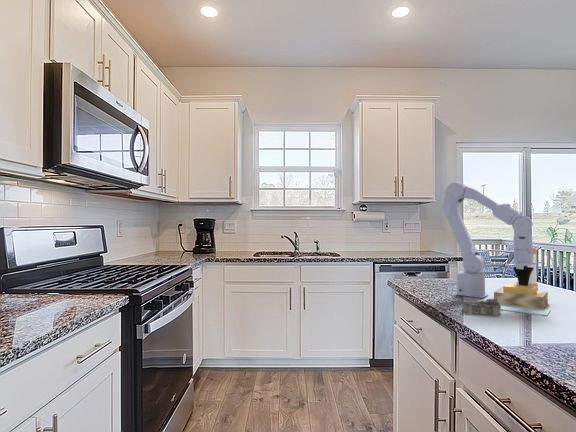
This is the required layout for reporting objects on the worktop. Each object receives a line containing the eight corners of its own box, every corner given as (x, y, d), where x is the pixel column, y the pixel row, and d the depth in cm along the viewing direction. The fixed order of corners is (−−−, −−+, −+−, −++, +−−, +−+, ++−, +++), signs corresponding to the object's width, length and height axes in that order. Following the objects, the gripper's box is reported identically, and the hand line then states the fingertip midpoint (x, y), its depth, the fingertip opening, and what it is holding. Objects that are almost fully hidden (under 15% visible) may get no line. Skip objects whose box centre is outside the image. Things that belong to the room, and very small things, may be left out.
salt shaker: (542, 293, 145) (541, 244, 146) (523, 293, 145) (522, 244, 146) (530, 289, 152) (529, 243, 153) (512, 289, 153) (511, 243, 153)
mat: (481, 307, 122) (481, 306, 122) (487, 302, 129) (487, 302, 129) (547, 316, 110) (547, 315, 110) (550, 310, 117) (550, 309, 117)
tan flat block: (494, 303, 127) (493, 292, 127) (501, 298, 136) (501, 287, 136) (543, 309, 118) (542, 297, 118) (547, 303, 127) (547, 291, 127)
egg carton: (499, 311, 118) (499, 298, 118) (501, 317, 111) (501, 303, 111) (462, 308, 122) (462, 295, 122) (462, 313, 115) (462, 300, 115)
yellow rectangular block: (503, 292, 127) (503, 286, 127) (506, 289, 132) (506, 284, 132) (534, 295, 121) (534, 289, 121) (537, 292, 126) (537, 286, 126)
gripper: (533, 251, 124) (533, 291, 124) (539, 248, 135) (539, 285, 135) (509, 250, 129) (509, 289, 128) (516, 247, 140) (517, 283, 139)
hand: (523, 287), depth 132 cm, fingers closed
